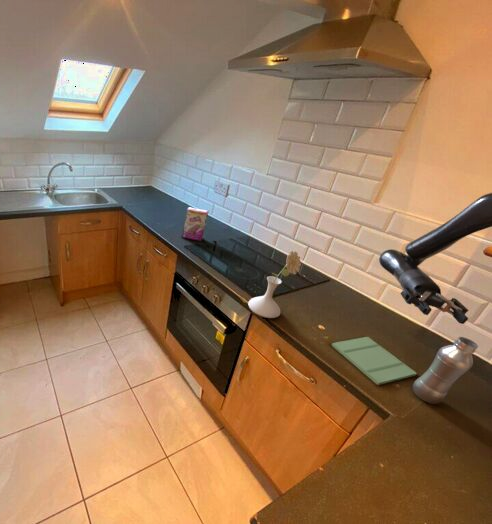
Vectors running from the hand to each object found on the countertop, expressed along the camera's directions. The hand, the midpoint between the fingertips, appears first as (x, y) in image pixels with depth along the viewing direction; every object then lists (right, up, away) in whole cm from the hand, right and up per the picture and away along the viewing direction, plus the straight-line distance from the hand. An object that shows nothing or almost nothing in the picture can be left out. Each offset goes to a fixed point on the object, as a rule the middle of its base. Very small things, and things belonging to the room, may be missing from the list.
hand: (446, 316), depth 82 cm
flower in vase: (-38, -3, +29) cm, 48 cm away
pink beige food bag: (-55, +28, +84) cm, 105 cm away
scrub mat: (-11, -16, +12) cm, 23 cm away
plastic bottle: (-5, -22, +1) cm, 23 cm away
